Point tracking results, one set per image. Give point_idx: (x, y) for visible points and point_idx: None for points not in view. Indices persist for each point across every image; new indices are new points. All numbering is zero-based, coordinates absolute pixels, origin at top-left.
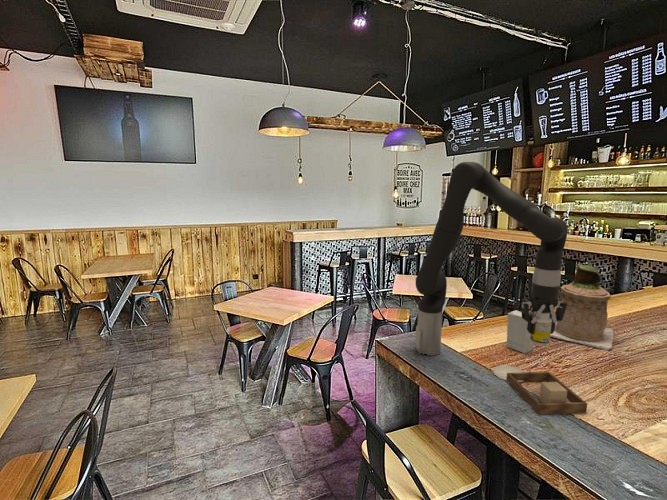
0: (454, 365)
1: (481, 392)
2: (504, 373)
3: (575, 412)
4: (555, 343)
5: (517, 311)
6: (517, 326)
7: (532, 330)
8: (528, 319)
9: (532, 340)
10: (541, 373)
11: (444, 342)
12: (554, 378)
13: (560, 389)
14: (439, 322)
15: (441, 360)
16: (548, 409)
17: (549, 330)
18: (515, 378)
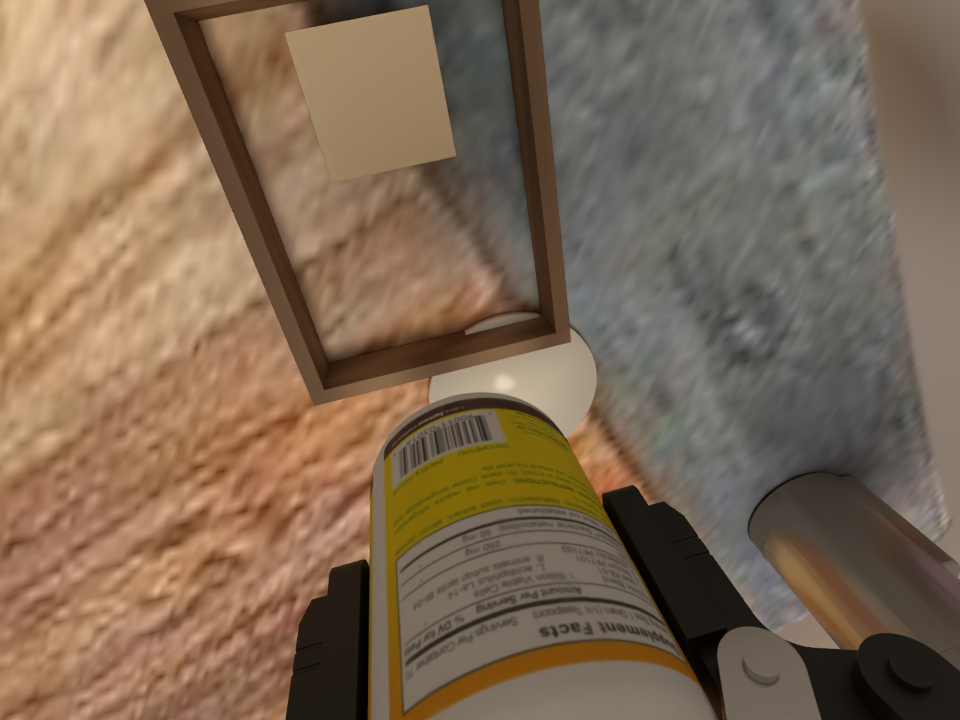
0: (744, 415)
1: (735, 173)
2: (545, 382)
3: None
4: (189, 712)
5: None
6: None
7: (658, 523)
8: (922, 683)
9: (568, 443)
10: (366, 378)
11: None
12: (301, 332)
13: (337, 50)
14: (922, 638)
15: (781, 445)
16: None
17: (420, 560)
18: (516, 328)
